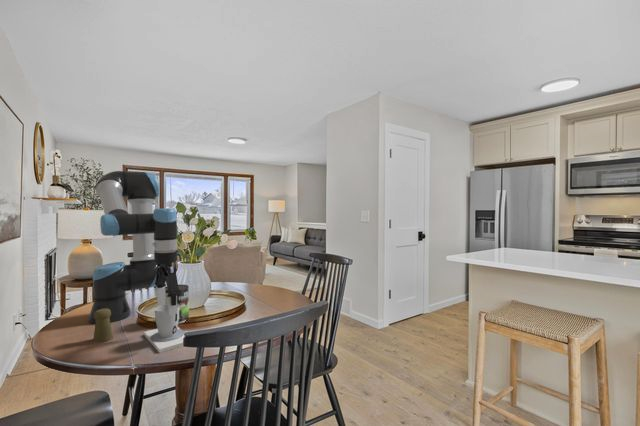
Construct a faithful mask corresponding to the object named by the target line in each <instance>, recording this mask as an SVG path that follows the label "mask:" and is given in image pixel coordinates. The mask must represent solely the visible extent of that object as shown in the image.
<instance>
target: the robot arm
mask: <svg viewBox="0 0 640 426" xmlns="http://www.w3.org/2000/svg"><path fill="white" fill-rule="evenodd" d="M95 193H96V195H97V196H98V197H99V198H100V201H101V203H102V208H103V209H102V210H103V213H104V214H102V215H101V216H100V220H99V221H100V222H99V223H100V225H99V226H100V233H101V235H102V236H111V237H112V236H113V237H116V236H125V235H126V236H127V235H128V236H129V235H132V254H133V256H132V257H131V258H130V259H129V264H126V263H125V262H124V261H119V262H118V261H117V262H112V263H106V264H102V265H100V266H97V267H95V268H94V270H93V272H92V273H93V274H92V282H93V287H92V288H93V303H92V307H91V309H90V312H89V315H88V321H89V323H92V324H95V323H96V319H95V318H94V313H95V311H97V310H99V309H110V310H111V316H110V317H109V318H110V323H113V322H117V321H118V322H119V321H121V320H123V319H127V318H128V317H129V316H130V315H131V307H130V305H129V303H128V301H127V298H126V292H129V291H136V290H143V289H150V288H154V287H155V288H156V291H157V292H156V296H157V297H156V299H157V302H156V305H157V307H158V306H162V305H165V304H166V298H165V287H167V288H168V292H169V294H168V295H167V297H168V314H169V315H173V314H177V295H179V287H178V285H179V283H178V276H177V267H176V266H173V263H176V262H177V261H178V251H177V250H178V228H177V227H178V223H177V222H178V217H177V210H176V209H175V208H154V210H153V204H154V202H156V201H157V199H156V198H159V196H160V185H159V180H158V177H157V176H156V174H155V173H153V172H146V171H127V170H126V171H124V170H115V171H110V172H108V173H105V174H104V175H103V176H101V177H100V178H99V179H98V180H97V181H96V184H95ZM125 197H126V198H127V199H126V200H127V203H129V204H130V206H131V213H129V209H128V207H127V205H126V202H125V199H124V198H125Z"/></svg>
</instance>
